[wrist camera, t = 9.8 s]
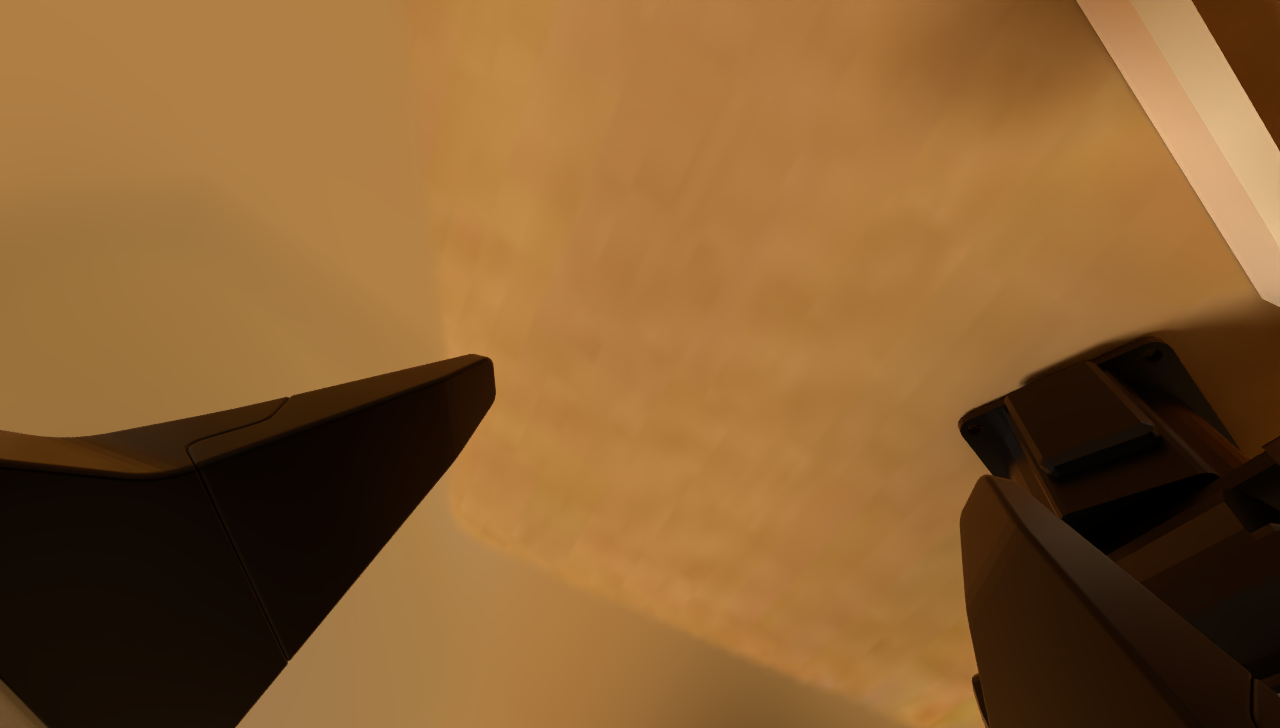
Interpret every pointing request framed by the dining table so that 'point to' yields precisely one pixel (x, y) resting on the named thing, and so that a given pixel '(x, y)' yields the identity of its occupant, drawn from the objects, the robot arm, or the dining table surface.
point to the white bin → (1201, 122)
